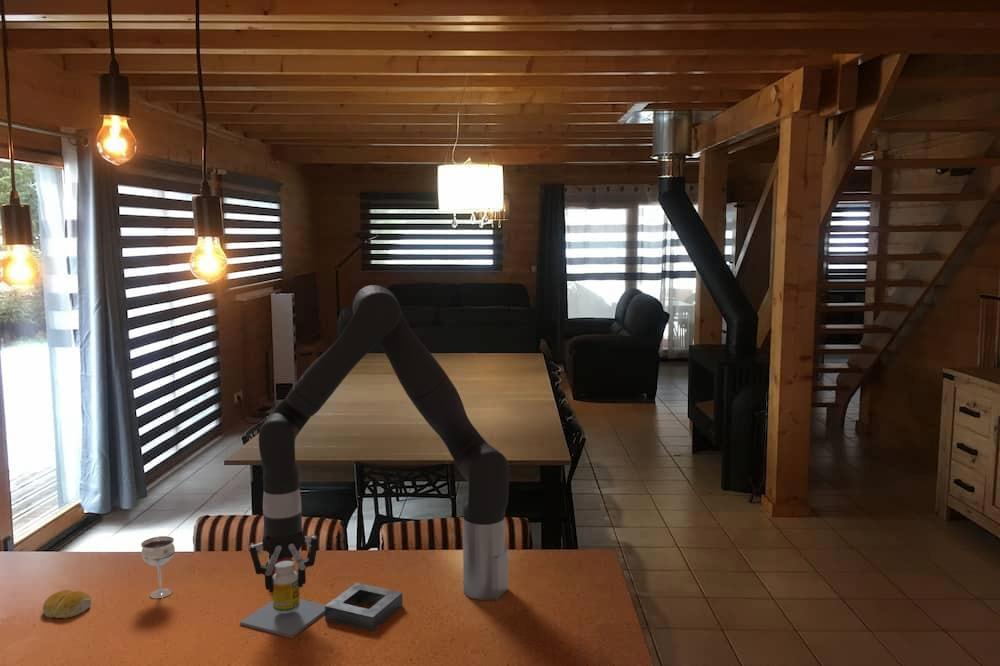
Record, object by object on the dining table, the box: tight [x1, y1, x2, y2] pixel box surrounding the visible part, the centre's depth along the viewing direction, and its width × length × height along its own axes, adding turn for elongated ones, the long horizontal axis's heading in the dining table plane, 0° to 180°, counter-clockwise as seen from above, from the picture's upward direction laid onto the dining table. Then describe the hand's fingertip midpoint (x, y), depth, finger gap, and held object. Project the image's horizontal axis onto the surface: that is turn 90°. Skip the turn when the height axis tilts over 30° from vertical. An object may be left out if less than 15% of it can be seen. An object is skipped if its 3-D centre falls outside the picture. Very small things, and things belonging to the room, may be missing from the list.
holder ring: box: [324, 582, 403, 632], centre depth 165 cm, size 12×12×3 cm
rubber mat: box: [239, 598, 326, 639], centre depth 163 cm, size 13×13×1 cm
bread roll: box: [42, 589, 92, 619], centre depth 166 cm, size 8×9×4 cm
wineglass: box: [140, 535, 176, 599], centre depth 172 cm, size 7×7×12 cm
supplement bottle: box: [272, 561, 300, 614], centre depth 162 cm, size 5×5×10 cm
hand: (285, 587), depth 162 cm, fingers closed on supplement bottle, 5 cm apart
